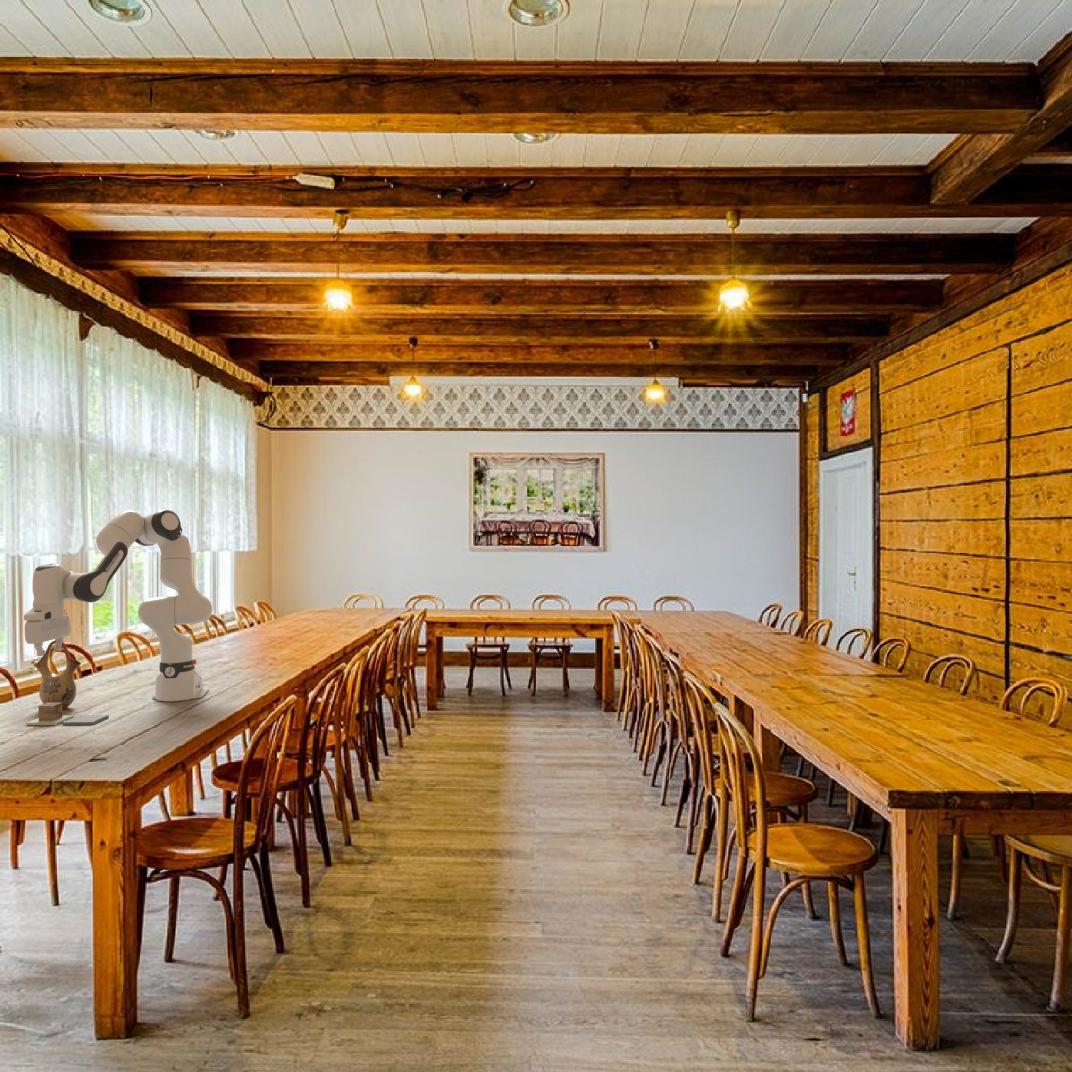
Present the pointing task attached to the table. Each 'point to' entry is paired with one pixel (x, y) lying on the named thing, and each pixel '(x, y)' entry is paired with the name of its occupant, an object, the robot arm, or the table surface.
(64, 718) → the pad
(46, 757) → the table surface
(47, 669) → the ceramic vessel
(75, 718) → the pad
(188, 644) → the robot arm
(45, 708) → the walnut block
